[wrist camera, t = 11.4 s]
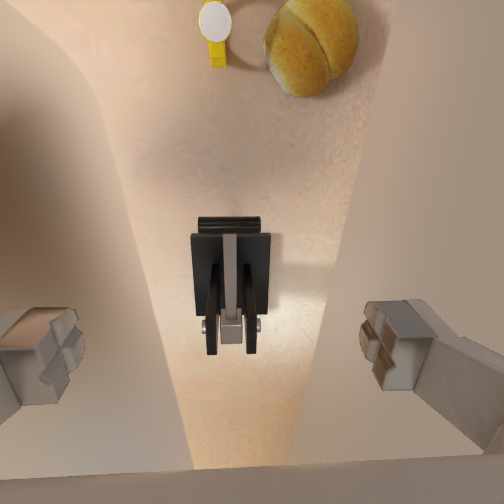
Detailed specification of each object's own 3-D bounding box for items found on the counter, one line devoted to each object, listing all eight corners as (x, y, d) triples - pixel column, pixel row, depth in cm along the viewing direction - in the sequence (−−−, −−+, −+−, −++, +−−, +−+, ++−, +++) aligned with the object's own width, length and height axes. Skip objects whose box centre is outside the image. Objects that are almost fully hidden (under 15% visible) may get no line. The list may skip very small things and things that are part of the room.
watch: (200, -4, 29) (193, -29, 24) (229, -4, 29) (229, -29, 24) (206, 70, 32) (201, 63, 26) (233, 69, 32) (234, 62, 26)
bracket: (191, 233, 39) (174, 286, 27) (269, 232, 40) (285, 284, 28) (197, 311, 44) (185, 383, 33) (266, 309, 45) (278, 380, 33)
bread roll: (365, 54, 32) (382, 48, 28) (292, 110, 34) (300, 111, 30) (325, -31, 29) (339, -51, 25) (248, 36, 30) (250, 27, 27)
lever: (199, 211, 26) (196, 225, 24) (259, 210, 26) (261, 224, 24) (208, 327, 34) (207, 345, 32) (254, 325, 34) (255, 343, 32)
